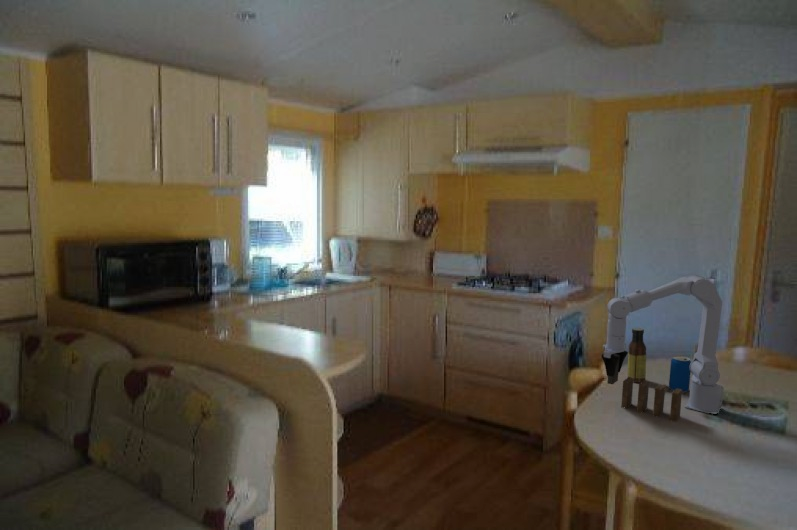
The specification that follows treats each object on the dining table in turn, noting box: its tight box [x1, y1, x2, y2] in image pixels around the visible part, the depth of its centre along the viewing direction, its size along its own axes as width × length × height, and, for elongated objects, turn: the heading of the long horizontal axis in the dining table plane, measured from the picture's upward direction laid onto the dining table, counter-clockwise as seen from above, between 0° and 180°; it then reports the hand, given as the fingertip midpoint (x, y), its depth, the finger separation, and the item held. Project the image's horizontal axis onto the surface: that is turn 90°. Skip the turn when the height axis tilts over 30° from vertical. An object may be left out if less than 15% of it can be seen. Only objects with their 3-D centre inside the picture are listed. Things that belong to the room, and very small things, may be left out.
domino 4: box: [652, 384, 666, 418], centre depth 180 cm, size 2×5×9 cm, turn 139°
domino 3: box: [636, 380, 650, 413], centre depth 183 cm, size 2×5×9 cm, turn 139°
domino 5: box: [669, 389, 683, 422], centre depth 177 cm, size 2×5×9 cm, turn 139°
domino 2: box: [620, 376, 634, 409], centre depth 186 cm, size 2×5×9 cm, turn 139°
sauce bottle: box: [627, 327, 647, 384], centre depth 210 cm, size 7×6×20 cm
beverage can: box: [668, 355, 692, 394], centre depth 200 cm, size 6×6×12 cm
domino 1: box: [607, 354, 620, 385], centre depth 189 cm, size 2×5×9 cm, turn 139°
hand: (613, 373), depth 189 cm, fingers closed on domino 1, 5 cm apart
